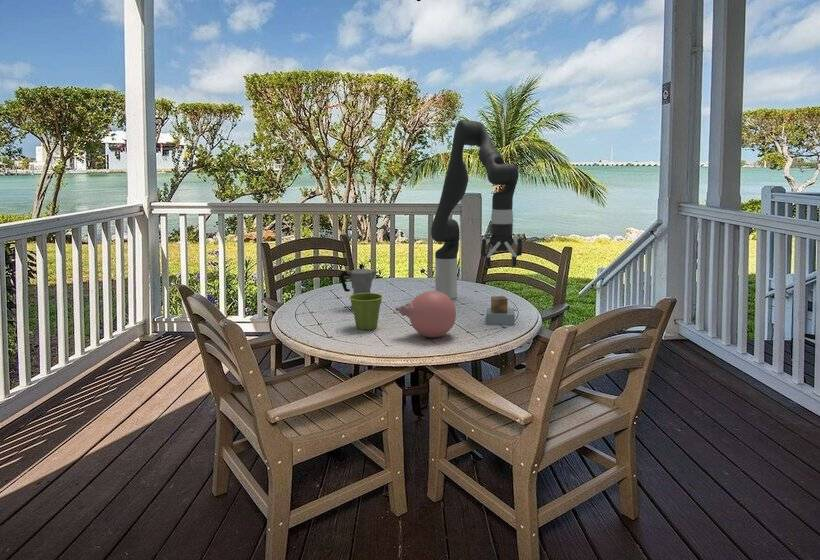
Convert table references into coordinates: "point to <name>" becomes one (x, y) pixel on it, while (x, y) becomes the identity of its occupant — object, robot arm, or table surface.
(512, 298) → the table surface
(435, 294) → the balloon
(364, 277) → the coffeepot
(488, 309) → the slate base block
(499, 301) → the walnut block
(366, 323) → the plant pot
